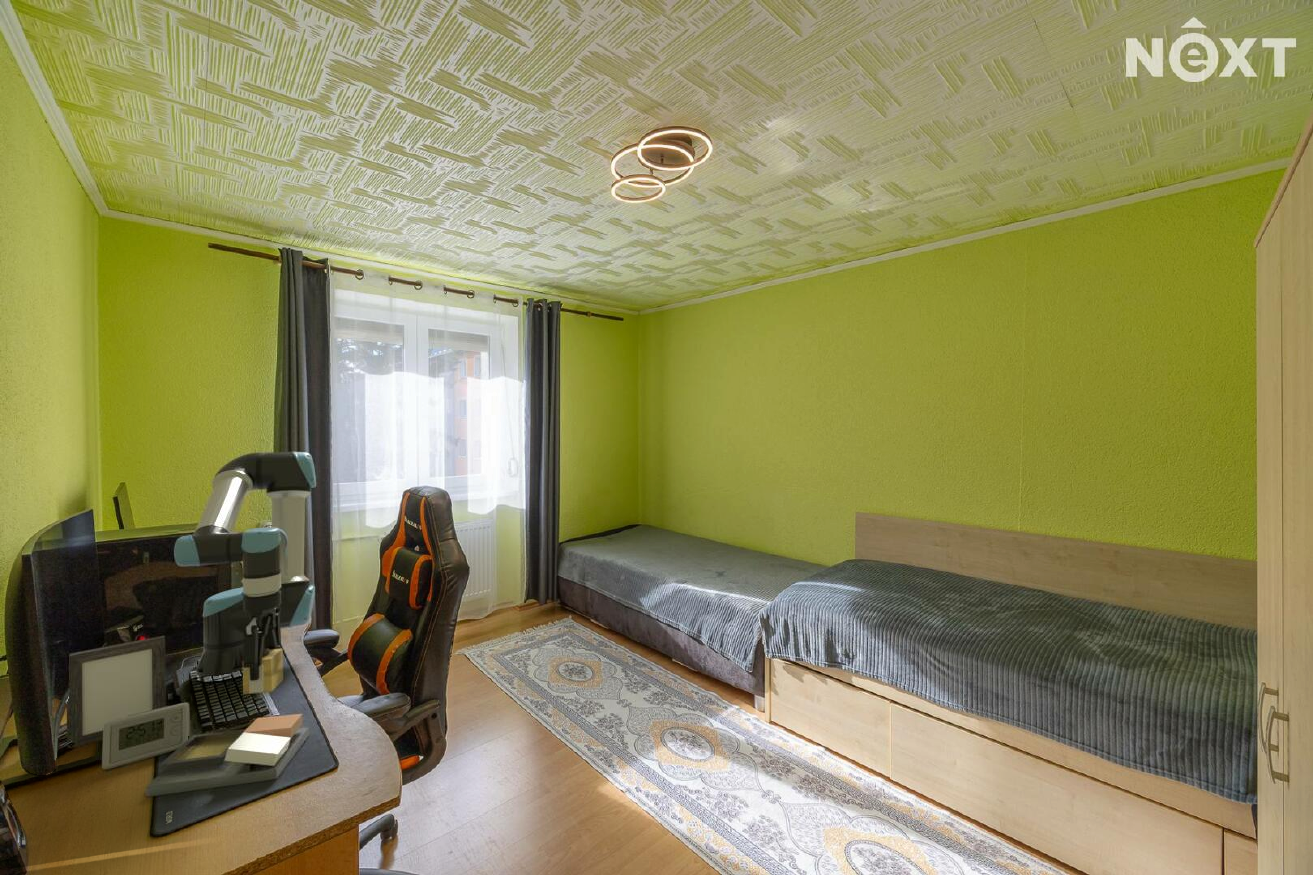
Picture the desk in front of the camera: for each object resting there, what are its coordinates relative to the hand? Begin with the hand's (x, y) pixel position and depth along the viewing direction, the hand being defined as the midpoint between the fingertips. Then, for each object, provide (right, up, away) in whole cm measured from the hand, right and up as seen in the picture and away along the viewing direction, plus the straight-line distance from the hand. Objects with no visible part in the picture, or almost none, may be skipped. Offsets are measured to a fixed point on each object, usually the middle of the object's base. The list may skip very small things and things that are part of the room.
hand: (263, 684), depth 130 cm
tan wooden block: (0, 0, 0) cm, 0 cm away
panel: (+8, -8, -18) cm, 22 cm away
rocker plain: (+14, -5, -21) cm, 26 cm away
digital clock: (-14, -9, -15) cm, 22 cm away
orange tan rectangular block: (+12, -5, -13) cm, 18 cm away
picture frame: (-28, -9, -7) cm, 31 cm away
